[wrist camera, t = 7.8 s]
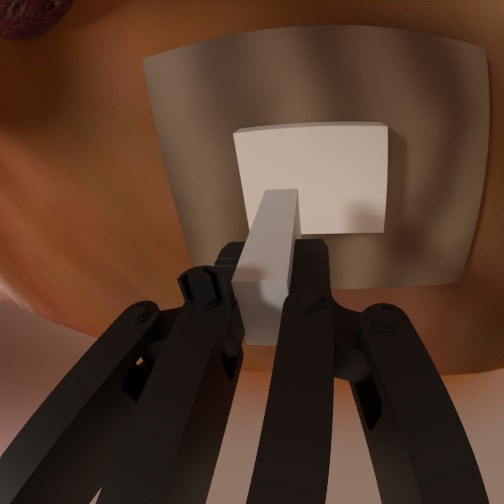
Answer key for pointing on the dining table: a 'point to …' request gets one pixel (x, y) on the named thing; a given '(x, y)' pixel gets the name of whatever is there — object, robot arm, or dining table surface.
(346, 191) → the tile
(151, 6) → the dining table surface
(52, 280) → the dining table surface
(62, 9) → the vegetable
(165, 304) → the dining table surface
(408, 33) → the cloth
